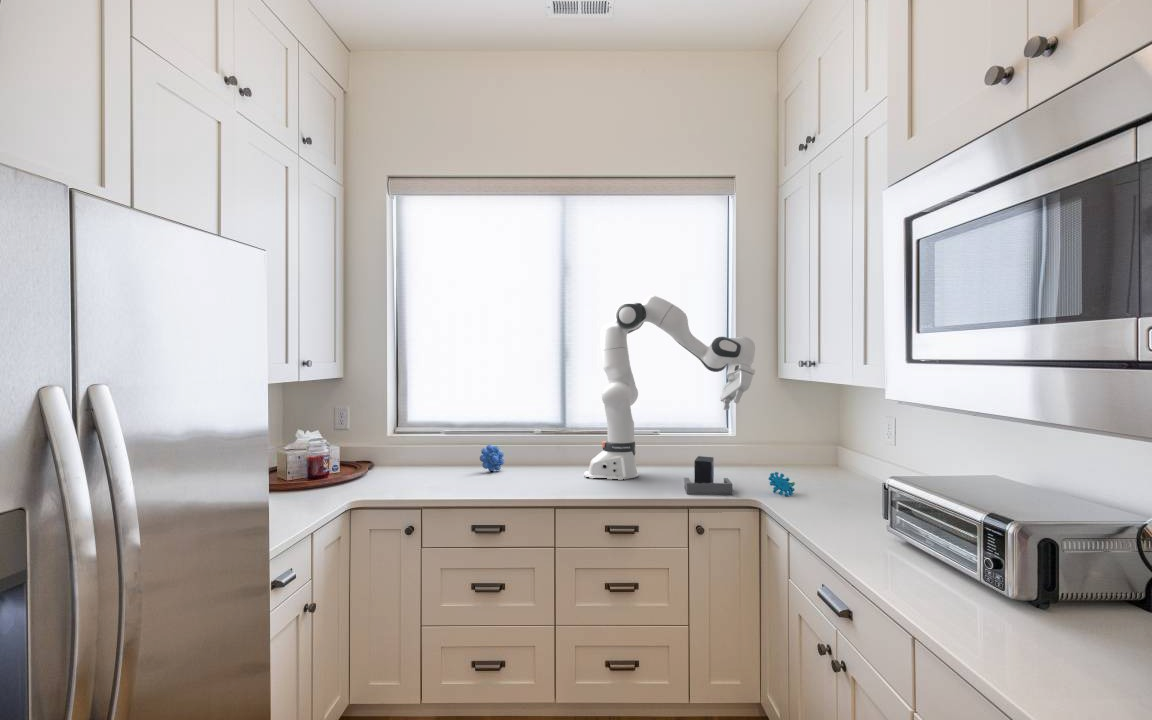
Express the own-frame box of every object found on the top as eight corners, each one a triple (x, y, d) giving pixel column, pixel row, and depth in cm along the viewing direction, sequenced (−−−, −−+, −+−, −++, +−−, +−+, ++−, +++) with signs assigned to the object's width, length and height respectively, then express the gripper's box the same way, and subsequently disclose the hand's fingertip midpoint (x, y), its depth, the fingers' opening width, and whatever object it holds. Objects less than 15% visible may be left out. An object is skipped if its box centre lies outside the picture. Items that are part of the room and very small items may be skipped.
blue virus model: (777, 493, 206) (766, 469, 213) (768, 503, 210) (757, 479, 217) (802, 495, 210) (790, 471, 217) (793, 504, 214) (781, 481, 221)
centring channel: (687, 494, 213) (686, 483, 213) (684, 488, 223) (684, 477, 223) (732, 494, 212) (732, 483, 212) (727, 488, 222) (727, 478, 222)
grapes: (484, 475, 250) (484, 446, 250) (477, 472, 255) (477, 444, 255) (508, 471, 256) (508, 444, 256) (501, 469, 262) (501, 442, 262)
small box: (711, 489, 221) (711, 461, 221) (693, 488, 223) (693, 460, 223) (714, 483, 231) (714, 456, 231) (697, 482, 233) (697, 455, 233)
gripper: (720, 380, 244) (713, 410, 239) (741, 363, 225) (734, 395, 220) (734, 386, 244) (727, 416, 239) (757, 368, 226) (750, 401, 220)
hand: (731, 406), depth 229 cm, fingers open, 8 cm apart
